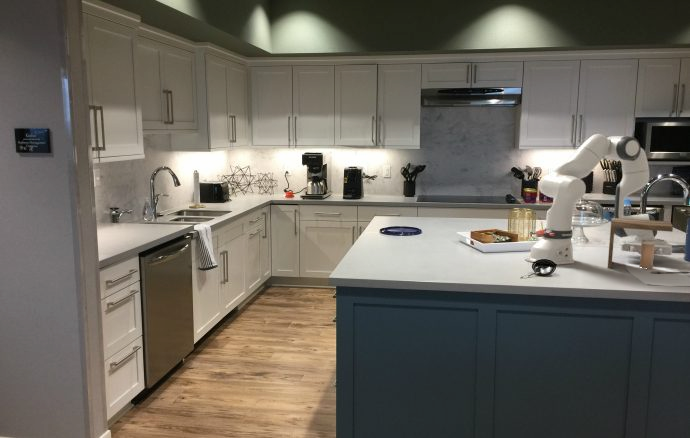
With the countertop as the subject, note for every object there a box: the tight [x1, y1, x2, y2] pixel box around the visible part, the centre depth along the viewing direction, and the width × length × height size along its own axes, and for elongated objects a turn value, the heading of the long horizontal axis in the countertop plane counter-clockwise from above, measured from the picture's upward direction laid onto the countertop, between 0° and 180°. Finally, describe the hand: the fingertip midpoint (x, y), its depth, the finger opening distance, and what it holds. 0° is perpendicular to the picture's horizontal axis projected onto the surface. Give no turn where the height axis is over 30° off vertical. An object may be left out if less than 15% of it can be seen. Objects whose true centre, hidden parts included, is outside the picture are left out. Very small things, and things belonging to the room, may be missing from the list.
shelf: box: [607, 217, 674, 269], centre depth 246 cm, size 15×23×20 cm, turn 64°
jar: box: [639, 240, 655, 270], centre depth 246 cm, size 5×5×12 cm
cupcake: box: [535, 220, 544, 237], centre depth 300 cm, size 9×8×12 cm
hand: (646, 251), depth 250 cm, fingers open, 8 cm apart
